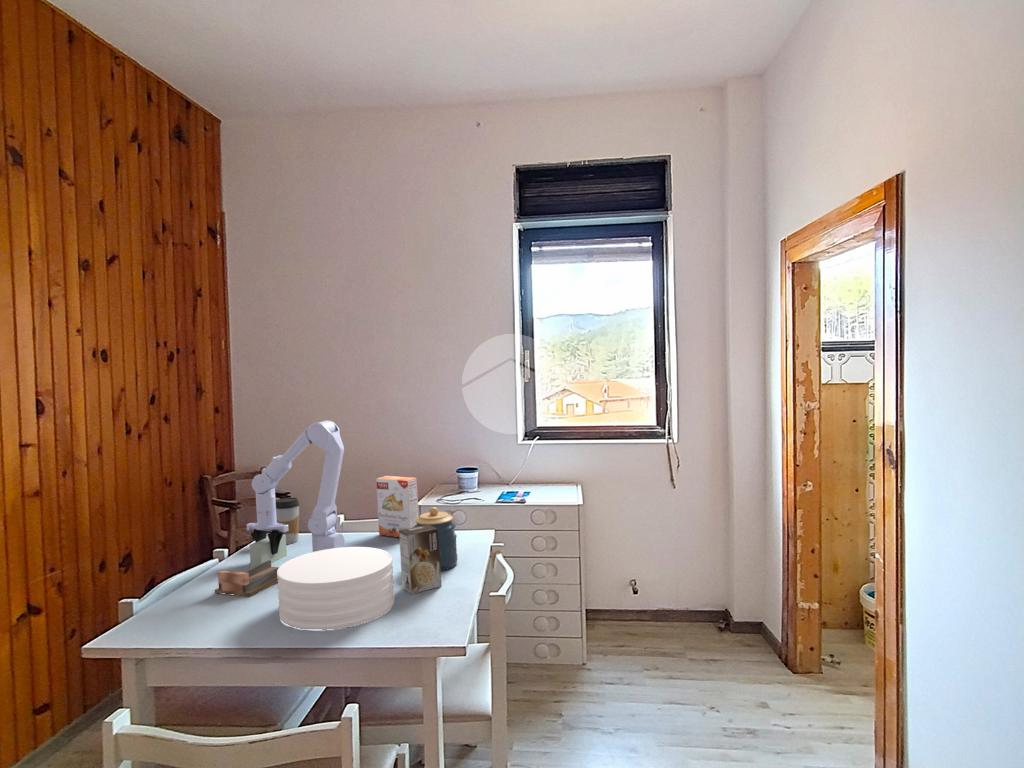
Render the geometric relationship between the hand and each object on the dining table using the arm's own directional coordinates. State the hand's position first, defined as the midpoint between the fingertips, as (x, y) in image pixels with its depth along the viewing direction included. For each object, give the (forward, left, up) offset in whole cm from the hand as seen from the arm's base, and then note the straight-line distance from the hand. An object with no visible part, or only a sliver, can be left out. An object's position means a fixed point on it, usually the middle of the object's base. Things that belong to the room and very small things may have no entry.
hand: (268, 553), depth 198 cm
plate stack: (-44, +28, -3) cm, 52 cm away
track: (-10, +17, -3) cm, 20 cm away
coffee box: (-59, +11, -3) cm, 60 cm away
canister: (-55, -7, -3) cm, 56 cm away
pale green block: (0, 0, -3) cm, 3 cm away
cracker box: (-28, -34, -3) cm, 44 cm away
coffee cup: (+8, -20, -3) cm, 22 cm away
